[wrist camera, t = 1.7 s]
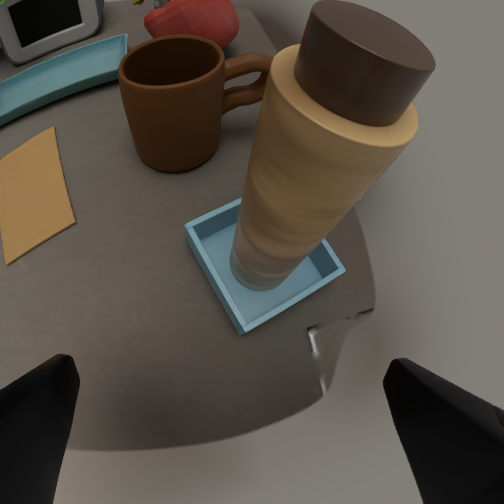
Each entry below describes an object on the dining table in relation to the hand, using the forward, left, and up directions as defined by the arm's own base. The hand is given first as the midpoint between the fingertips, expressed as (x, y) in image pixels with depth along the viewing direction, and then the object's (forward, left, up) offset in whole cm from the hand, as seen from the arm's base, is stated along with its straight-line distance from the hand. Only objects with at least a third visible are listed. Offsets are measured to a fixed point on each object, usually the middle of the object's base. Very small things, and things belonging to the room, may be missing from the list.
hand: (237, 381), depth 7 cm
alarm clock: (+53, +3, -13) cm, 55 cm away
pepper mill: (+5, -6, -13) cm, 15 cm away
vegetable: (+29, -12, -12) cm, 33 cm away
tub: (+5, -6, -13) cm, 15 cm away
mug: (+17, -7, -13) cm, 23 cm away
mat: (+21, +10, -13) cm, 27 cm away
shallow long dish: (+37, +8, -13) cm, 40 cm away
